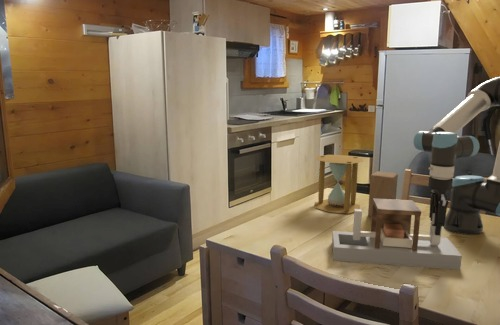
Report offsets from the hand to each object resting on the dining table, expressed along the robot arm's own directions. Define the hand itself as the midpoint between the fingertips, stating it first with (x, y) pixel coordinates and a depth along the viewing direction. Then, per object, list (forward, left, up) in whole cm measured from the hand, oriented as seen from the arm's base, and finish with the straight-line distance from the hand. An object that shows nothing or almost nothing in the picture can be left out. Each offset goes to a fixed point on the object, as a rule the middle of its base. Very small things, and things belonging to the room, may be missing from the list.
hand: (434, 241), depth 148 cm
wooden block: (+11, -46, -7) cm, 48 cm away
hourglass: (+31, -56, -7) cm, 64 cm away
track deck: (+14, 0, -7) cm, 16 cm away
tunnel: (+14, 0, -2) cm, 14 cm away
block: (+14, 0, -2) cm, 14 cm away
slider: (+13, 0, -1) cm, 14 cm away
